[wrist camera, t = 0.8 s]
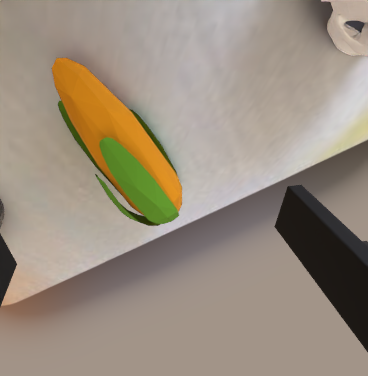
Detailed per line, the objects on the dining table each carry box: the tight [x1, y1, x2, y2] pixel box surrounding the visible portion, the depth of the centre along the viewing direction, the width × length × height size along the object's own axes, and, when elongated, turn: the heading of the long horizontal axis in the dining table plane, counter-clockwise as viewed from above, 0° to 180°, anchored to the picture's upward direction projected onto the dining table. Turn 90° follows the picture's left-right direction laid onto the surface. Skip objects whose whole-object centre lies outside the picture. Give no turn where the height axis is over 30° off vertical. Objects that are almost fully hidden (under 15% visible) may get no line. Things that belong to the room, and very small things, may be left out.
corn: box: [52, 58, 182, 226], centre depth 25 cm, size 7×8×20 cm
